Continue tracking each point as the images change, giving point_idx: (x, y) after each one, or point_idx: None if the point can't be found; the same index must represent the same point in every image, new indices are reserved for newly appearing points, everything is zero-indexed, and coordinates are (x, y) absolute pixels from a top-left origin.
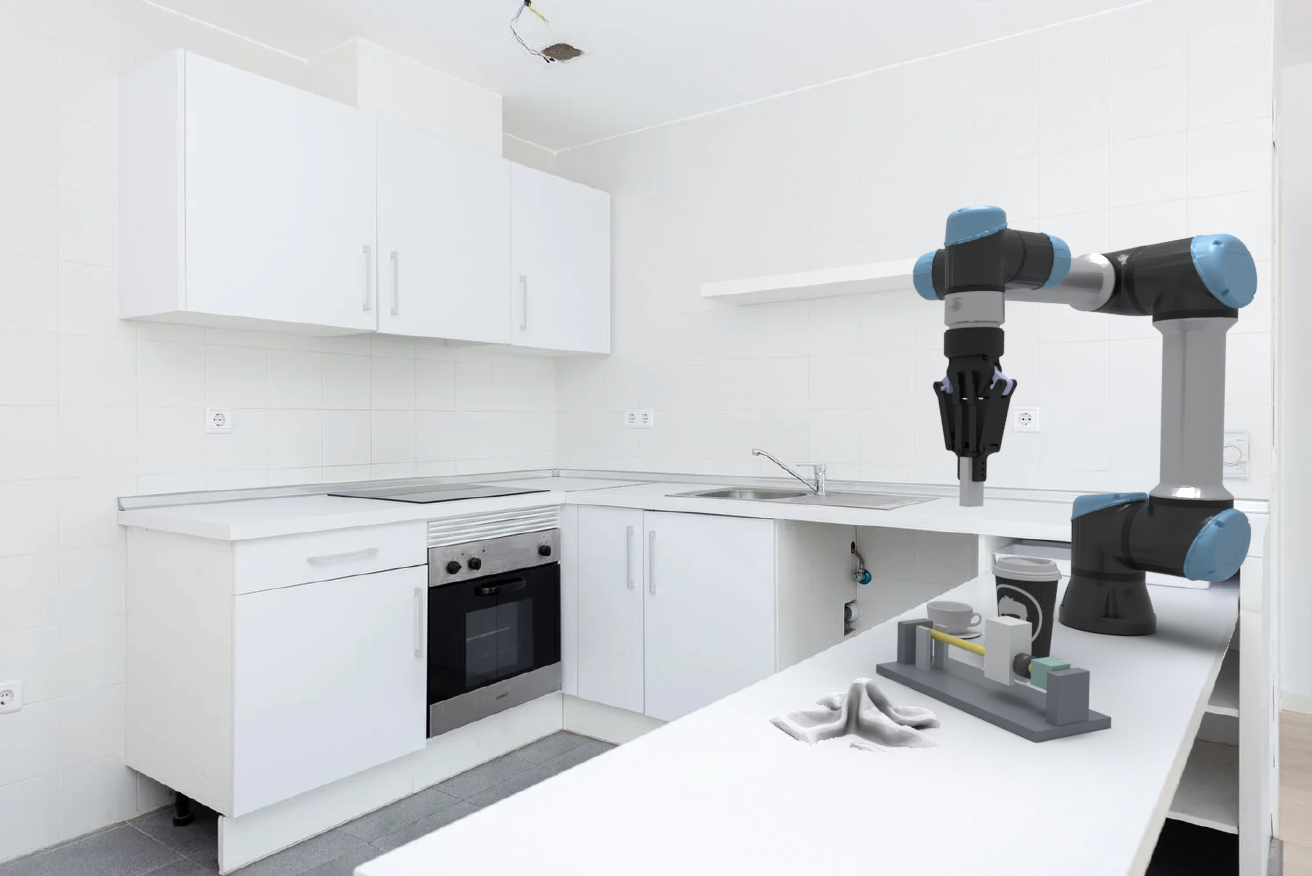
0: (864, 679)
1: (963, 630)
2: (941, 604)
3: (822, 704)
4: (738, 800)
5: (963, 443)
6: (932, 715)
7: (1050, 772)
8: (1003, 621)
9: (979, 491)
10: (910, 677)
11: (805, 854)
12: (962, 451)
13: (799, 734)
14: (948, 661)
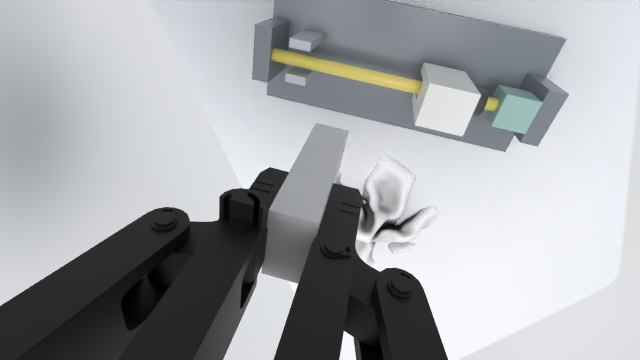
0: (365, 240)
1: None
2: None
3: None
4: None
5: (242, 310)
6: (408, 182)
7: (536, 195)
8: (443, 121)
9: (338, 166)
10: (322, 105)
11: (462, 349)
12: (255, 283)
13: None
14: (302, 1)
